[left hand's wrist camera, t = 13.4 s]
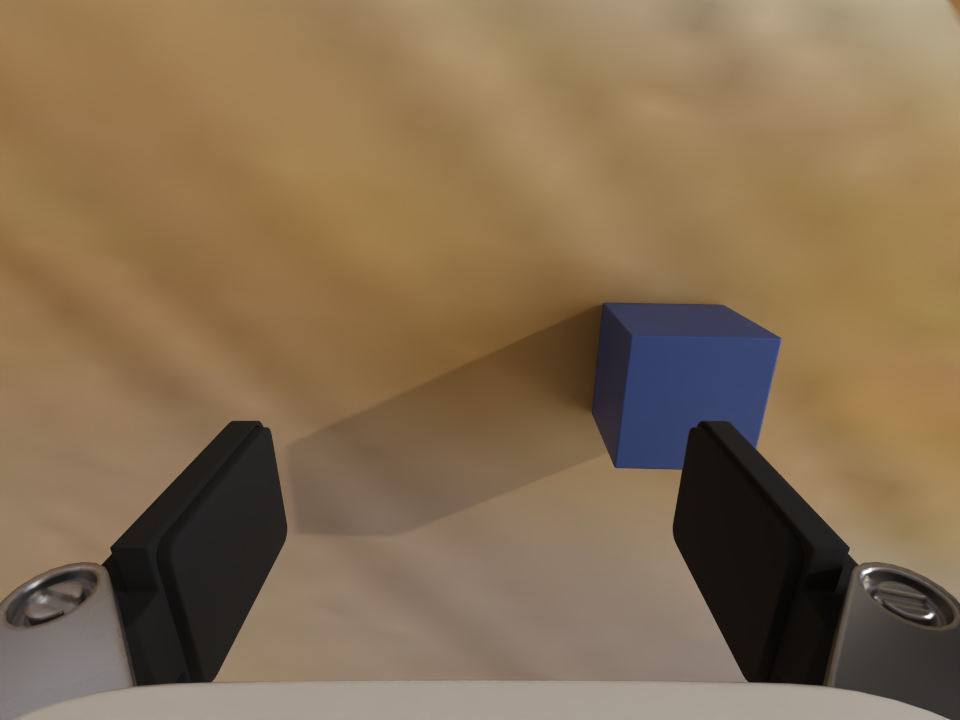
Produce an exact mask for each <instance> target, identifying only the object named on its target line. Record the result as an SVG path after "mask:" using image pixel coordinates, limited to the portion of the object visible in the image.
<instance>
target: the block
mask: <svg viewBox="0 0 960 720" xmlns="http://www.w3.org/2000/svg"><path fill="white" fill-rule="evenodd" d="M781 341H782V339H781V338H780V337H778V336H777V335H775V334H773V333H771V332H770V331H768V330H766V329H764V328H763V327H761V326H759V325H758V324H756V323H754V322H752V321H751V320H749V319H747V318H745V317H744V316H742V315H740V314H738V313H737V312H735V311H733V310H731V309H730V308H728V307H726V306H724V305H697V304H643V303H604V304H603V309H602V319H601V329H600V339H599V348H598V358H597V368H596V378H595V388H594V398H593V407H592V415H593V417H594V419H595V422H596V424H597V426H598V429H599V431H600V434H601V436H602V438H603V441H604V443H605V446H606V448H607V450H608V453H609V455H610V457H611V460H612V462H613V465H614V467H615V468H639V469H683V464H684V458H685V452H686V446H687V440H688V435H689V431H690V429H691V428H692V427H697V425H698V423H699V422H700V421H729V422H730V423H731V424H732V425H733V426H734V427H735V428H736V429H737V430H738V431H739V432H740V433H741V434H742V435H743V436H744V437H745V438H746V440H747V441H748V442H749V443H750V444H751V445H752V446H753V447H754V448H755V449H756V448H757V444H758V440H759V435H760V431H761V427H762V422H763V418H764V414H765V410H766V405H767V401H768V397H769V393H770V388H771V384H772V380H773V375H774V371H775V367H776V363H777V358H778V354H779V350H780V345H781Z"/></svg>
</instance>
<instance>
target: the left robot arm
mask: <svg viewBox="0 0 960 720" xmlns="http://www.w3.org/2000/svg"><path fill="white" fill-rule="evenodd" d="M286 536H287V522H286V516H285V510H284V504H283V499H282V493H281V487H280V481H279V475H278V469H277V464H276V458H275V452H274V446H273V440H272V435H271V431H270V429H269V428H268V427H263V425H262V423H261V422H260V421H231V422H230V423H229V424H228V425H227V426H226V427H225V428H224V429H223V430H222V431H221V432H220V433H219V434H218V435H217V436H216V437H215V438H214V440H213V441H212V442H211V443H210V444H209V445H208V446H207V447H206V448H205V449H204V450H203V451H202V452H201V453H200V454H199V455H198V456H197V457H196V458H195V459H194V460H193V462H192V463H191V464H190V465H189V466H188V467H187V468H186V469H185V470H184V471H183V472H182V473H181V474H180V475H179V476H178V477H177V478H176V479H175V480H174V481H173V482H172V484H171V485H170V486H169V487H168V488H167V489H166V490H165V491H164V492H163V493H162V494H161V495H160V496H159V497H158V498H157V499H156V500H155V501H154V502H153V503H152V505H151V506H150V507H149V508H148V509H147V510H146V511H145V512H144V513H143V514H142V515H141V516H140V517H139V518H138V519H137V520H136V521H135V522H134V523H133V524H132V525H131V527H130V528H129V529H128V530H127V531H126V532H125V533H124V534H123V535H122V536H121V537H120V538H119V539H118V540H117V541H116V542H115V543H114V544H113V545H112V546H111V547H110V549H111V552H112V554H111V555H110V557H109V558H108V559H107V560H106V561H105V562H104V563H103V564H102V565H99V564H97V563H90V562H80V563H73V564H67V565H64V566H61V567H58V568H54V569H51V570H49V571H47V572H45V573H42V574H40V575H38V576H36V577H34V578H32V579H30V580H29V581H27V582H26V583H24V584H22V585H21V586H19V587H17V588H16V589H15V590H14V591H13V592H12V593H10V594H9V595H8V596H7V597H6V598H4V600H3V601H2V602H1V603H0V720H960V603H959V602H958V601H957V600H956V598H954V597H953V596H952V595H951V594H950V593H948V592H947V591H946V590H945V589H944V588H943V587H941V586H939V585H938V584H936V583H934V582H933V581H931V580H930V579H928V578H926V577H924V576H922V575H920V574H918V573H915V572H913V571H911V570H909V569H906V568H902V567H899V566H896V565H893V564H887V563H880V562H870V563H863V564H860V565H858V564H857V563H856V562H855V561H854V560H853V559H852V558H851V557H850V555H849V554H848V552H849V549H850V547H849V546H848V545H847V544H846V543H845V542H844V541H843V540H842V539H841V538H840V537H839V536H838V535H837V534H836V533H835V532H834V531H833V530H832V529H831V528H830V527H829V525H828V524H827V523H826V522H825V521H824V520H823V519H822V518H821V517H820V516H819V515H818V514H817V513H816V512H815V511H814V510H813V509H812V508H811V507H810V506H809V505H808V503H807V502H806V501H805V500H804V499H803V498H802V497H801V496H800V495H799V494H798V493H797V492H796V491H795V490H794V489H793V488H792V487H791V486H790V485H789V484H788V482H787V481H786V480H785V479H784V478H783V477H782V476H781V475H780V474H779V473H778V472H777V471H776V470H775V469H774V468H773V467H772V466H771V465H770V464H769V463H768V462H767V460H766V459H765V458H764V457H763V456H762V455H761V454H760V453H759V452H758V451H757V450H756V449H755V448H754V447H753V446H752V445H751V444H750V443H749V442H748V441H747V440H746V438H745V437H744V436H743V435H742V434H741V433H740V432H739V431H738V430H737V429H736V428H735V427H734V426H733V425H732V424H731V423H730V422H729V421H700V422H699V423H698V425H697V427H692V428H691V429H690V431H689V435H688V440H687V446H686V452H685V458H684V464H683V469H682V475H681V481H680V487H679V493H678V499H677V504H676V510H675V516H674V522H673V536H674V540H675V542H676V545H677V547H678V549H679V550H680V552H681V554H682V556H683V558H684V560H685V562H686V564H687V566H688V568H689V570H690V572H691V574H692V576H693V578H694V580H695V582H696V584H697V586H698V588H699V590H700V592H701V594H702V595H703V597H704V599H705V601H706V603H707V605H708V607H709V609H710V611H711V613H712V615H713V617H714V619H715V621H716V623H717V625H718V627H719V629H720V631H721V633H722V635H723V637H724V639H725V640H726V642H727V644H728V646H729V648H730V650H731V652H732V654H733V656H734V658H735V660H736V662H737V664H738V666H739V668H740V670H741V672H742V674H743V676H744V677H745V679H746V680H747V681H748V682H684V681H510V680H450V681H276V682H212V681H213V680H214V679H215V677H216V676H217V674H218V672H219V670H220V668H221V666H222V664H223V662H224V660H225V658H226V656H227V654H228V652H229V650H230V648H231V646H232V644H233V642H234V640H235V639H236V637H237V635H238V633H239V631H240V629H241V627H242V625H243V623H244V621H245V619H246V617H247V615H248V613H249V611H250V609H251V607H252V605H253V603H254V601H255V599H256V597H257V595H258V594H259V592H260V590H261V588H262V586H263V584H264V582H265V580H266V578H267V576H268V574H269V572H270V570H271V568H272V566H273V564H274V562H275V560H276V558H277V556H278V554H279V552H280V550H281V549H282V547H283V545H284V542H285V540H286Z"/></svg>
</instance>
